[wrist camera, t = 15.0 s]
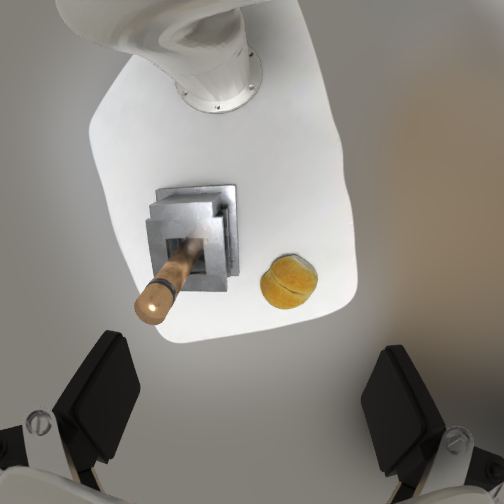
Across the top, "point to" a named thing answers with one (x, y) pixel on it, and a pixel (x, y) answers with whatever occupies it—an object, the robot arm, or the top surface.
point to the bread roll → (289, 282)
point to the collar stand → (196, 232)
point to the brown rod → (168, 282)
